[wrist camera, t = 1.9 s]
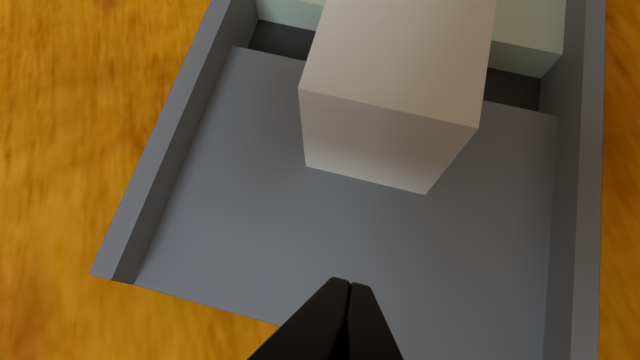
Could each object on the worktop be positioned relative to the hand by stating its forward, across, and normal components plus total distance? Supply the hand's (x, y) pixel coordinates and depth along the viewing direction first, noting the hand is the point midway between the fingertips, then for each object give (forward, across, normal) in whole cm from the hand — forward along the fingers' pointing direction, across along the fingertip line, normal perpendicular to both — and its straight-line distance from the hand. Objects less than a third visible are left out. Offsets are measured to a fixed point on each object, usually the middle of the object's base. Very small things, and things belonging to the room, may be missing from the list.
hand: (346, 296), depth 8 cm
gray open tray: (+17, 0, 0) cm, 17 cm away
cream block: (+13, 0, 0) cm, 13 cm away
